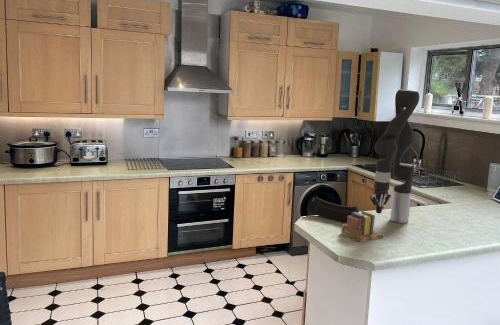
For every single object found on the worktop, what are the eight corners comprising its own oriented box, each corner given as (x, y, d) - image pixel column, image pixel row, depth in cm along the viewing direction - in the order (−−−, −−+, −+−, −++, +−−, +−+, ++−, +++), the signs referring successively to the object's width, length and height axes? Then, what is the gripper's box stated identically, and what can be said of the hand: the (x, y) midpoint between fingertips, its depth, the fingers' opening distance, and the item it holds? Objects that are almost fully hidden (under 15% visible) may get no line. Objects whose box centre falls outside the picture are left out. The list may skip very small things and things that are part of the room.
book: (361, 230, 213) (363, 213, 211) (369, 234, 208) (371, 217, 206) (356, 231, 211) (358, 214, 209) (364, 235, 206) (365, 217, 205)
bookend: (361, 229, 214) (363, 210, 212) (372, 234, 207) (374, 215, 206) (359, 229, 214) (361, 211, 212) (371, 235, 207) (373, 215, 205)
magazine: (366, 210, 224) (318, 185, 238) (364, 211, 221) (316, 186, 235) (354, 236, 229) (308, 210, 244) (352, 238, 227) (306, 212, 241)
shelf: (365, 229, 219) (368, 208, 217) (383, 237, 209) (385, 215, 207) (341, 233, 210) (343, 212, 208) (358, 242, 200) (360, 219, 198)
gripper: (378, 182, 203) (374, 216, 206) (397, 180, 209) (393, 213, 213) (367, 179, 209) (363, 212, 213) (385, 177, 216) (382, 209, 219)
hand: (378, 212), depth 213 cm, fingers closed
